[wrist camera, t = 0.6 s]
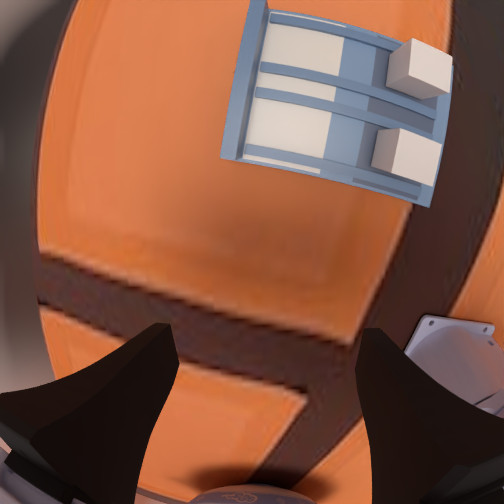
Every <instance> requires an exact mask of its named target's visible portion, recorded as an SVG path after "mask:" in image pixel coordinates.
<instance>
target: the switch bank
mask: <svg viewBox="0 0 504 504" xmlns="http://www.w3.org/2000/svg"><path fill="white" fill-rule="evenodd" d="M403 44H404V43H403V42H401V41H398V40H395V39H393V38H390V37H387V36H384V35H381V34H379V33H376V32H373V31H369V30H366V29H363V28H360V27H356V26H353V25H349V24H346V23H342V22H338V21H334V20H330V19H325V18H321V17H316V16H311V15H306V14H300V13H295V12H288V11H282V10H274V9H268V4H267V0H251V1H250V5H249V9H248V13H247V18H246V22H245V27H244V31H243V36H242V40H241V45H240V50H239V55H238V59H237V64H236V69H235V74H234V79H233V85H232V90H231V95H230V101H229V106H228V112H227V117H226V123H225V129H224V135H223V141H222V147H221V153H220V158H224V159H228V160H234V161H240V162H246V163H251V164H257V165H262V166H268V167H273V168H278V169H283V170H288V171H293V172H298V173H302V174H307V175H311V176H316V177H320V178H324V179H329V180H333V181H337V182H341V183H345V184H349V185H353V186H357V187H360V188H364V189H368V190H372V191H375V192H379V193H382V194H386V195H389V196H393V197H396V198H399V199H403V200H406V201H409V202H413V203H416V204H419V205H422V206H425V207H428V208H429V206H430V202H431V199H432V195H433V191H434V187H435V183H436V179H437V174H438V170H439V166H440V161H441V156H442V151H443V146H444V140H445V135H446V129H447V122H448V115H449V108H450V100H451V90H452V79H453V65H452V69H451V82H450V92H449V93H448V94H444V95H439V96H435V97H431V98H427V99H422V100H420V99H418V98H415V97H413V96H410V95H408V94H405V93H403V92H400V91H397V90H395V89H392V88H389V87H386V80H387V73H388V65H389V57H390V54H391V53H393V52H394V51H395V50H396V49H398V48H399V47H400V46H402V45H403ZM397 128H401V129H404V130H407V131H409V132H412V133H415V134H417V135H420V136H422V137H425V138H427V139H430V140H432V141H435V142H437V143H440V144H442V147H441V152H440V157H439V161H438V166H437V171H436V175H435V179H434V183H433V187H432V186H429V185H426V184H423V183H420V182H418V181H415V180H412V179H409V178H406V177H403V176H399V175H396V174H393V173H390V172H387V171H384V170H381V169H378V168H375V167H372V166H371V163H372V158H373V154H374V149H375V144H376V139H377V134H378V130H385V129H397Z"/></svg>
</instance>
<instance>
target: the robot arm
mask: <svg viewBox="0 0 504 504" xmlns="http://www.w3.org/2000/svg"><path fill="white" fill-rule="evenodd" d="M430 321H432V322H431V323H429V322H430ZM494 330H495V326H494V325H493V324H489V323H481V322H474V321H466V320H459V319H452V318H445V317H438V316H432V315H425V316H423V317H422V318H421V320H420V322H419V324H418V326H417V328H416V330H415V332H414V334H413V336H412V338H411V339H410V341H409V343H408V345H407V347H406V349H405V351H404V352H403V351H402V350H401V349H400V348H399V347H398V346H397V345H396V344H395V343H394V342H393V341H392V340H391V339H390V338H389V337H388V336H387V335H386V334H385V333H384V332H383V331H382V330H381V329H380V328H365V329H364V330H363V335H362V340H361V345H360V350H359V354H358V359H357V363H356V367H355V373H356V383H357V391H358V396H359V400H360V404H361V408H362V413H363V417H364V421H365V425H366V430H367V434H368V439H369V445H370V454H371V468H372V504H504V352H503V350H502V349H501V348H500V346H499V345H498V344H497V342H496V341H495V340H494V339H493V337H492V334H493V332H494ZM178 367H179V360H178V356H177V351H176V347H175V343H174V339H173V335H172V330H171V326H170V324H165V323H155V324H153V325H151V326H150V327H148V328H147V329H145V330H144V331H142V332H141V333H139V334H138V335H137V336H135V337H134V338H132V339H131V340H129V341H128V342H127V343H125V344H124V345H122V346H121V347H119V348H118V349H116V350H115V351H113V352H111V353H110V354H108V355H107V356H105V357H103V358H102V359H100V360H99V361H97V362H95V363H93V364H92V365H90V366H88V367H86V368H84V369H82V370H80V371H78V372H76V373H74V374H71V375H69V376H66V377H64V378H61V379H59V380H56V381H54V382H51V383H47V384H44V385H41V386H37V387H33V388H29V389H25V390H19V391H13V392H6V393H1V394H0V437H1V438H2V439H3V440H4V442H5V443H6V444H7V445H8V446H9V447H10V448H11V449H12V450H11V452H10V453H9V454H8V453H7V452H6V451H5V450H4V449H2V448H1V447H0V504H134V501H135V495H136V489H137V484H138V479H139V475H140V470H141V466H142V463H143V459H144V455H145V452H146V448H147V445H148V442H149V439H150V436H151V433H152V430H153V428H154V426H155V423H156V421H157V419H158V417H159V415H160V413H161V410H162V408H163V406H164V404H165V402H166V400H167V398H168V395H169V393H170V391H171V389H172V386H173V384H174V381H175V378H176V374H177V371H178Z"/></svg>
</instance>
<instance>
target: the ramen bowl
mask: <svg viewBox="0 0 504 504" xmlns="http://www.w3.org/2000/svg"><path fill="white" fill-rule="evenodd" d="M188 504H316V503H315V502H314V501H313V500H312V499H310V498H309V497H307V496H304V495H302V494H299V493H296V492H294V491H291V490H287V489H283V488H279V487H276V486H273V485H268V484H257V483H252V484H243V485H233V486H225V487H220V488H215V489H212V490H208V491H205V492H204V493H202V494H200V495H198V496H197V497H195V498H194V499H193V500H191V501H190V502H189V503H188Z"/></svg>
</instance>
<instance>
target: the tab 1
mask: <svg viewBox="0 0 504 504" xmlns="http://www.w3.org/2000/svg"><path fill="white" fill-rule="evenodd" d="M451 69H452V56H450V55H448V54H446V53H444V52H442V51H440V50H438V49H436V48H434V47H432V46H429V45H427V44H425V43H423V42H421V41H418V40H416V39H414V38H411V39H410V40H408V41H407V42H406V43H404V44H403V45H402V46H400V47H399V48H398V49H396V50H395V51H394V52H393V53H391V54H390V57H389V65H388V73H387V80H386V87H389V88H392V89H395V90H397V91H400V92H403V93H405V94H408V95H410V96H413V97H415V98H418V99H420V100H422V99H427V98H431V97H435V96H439V95H444V94H448V93H449V92H450V82H451Z"/></svg>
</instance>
